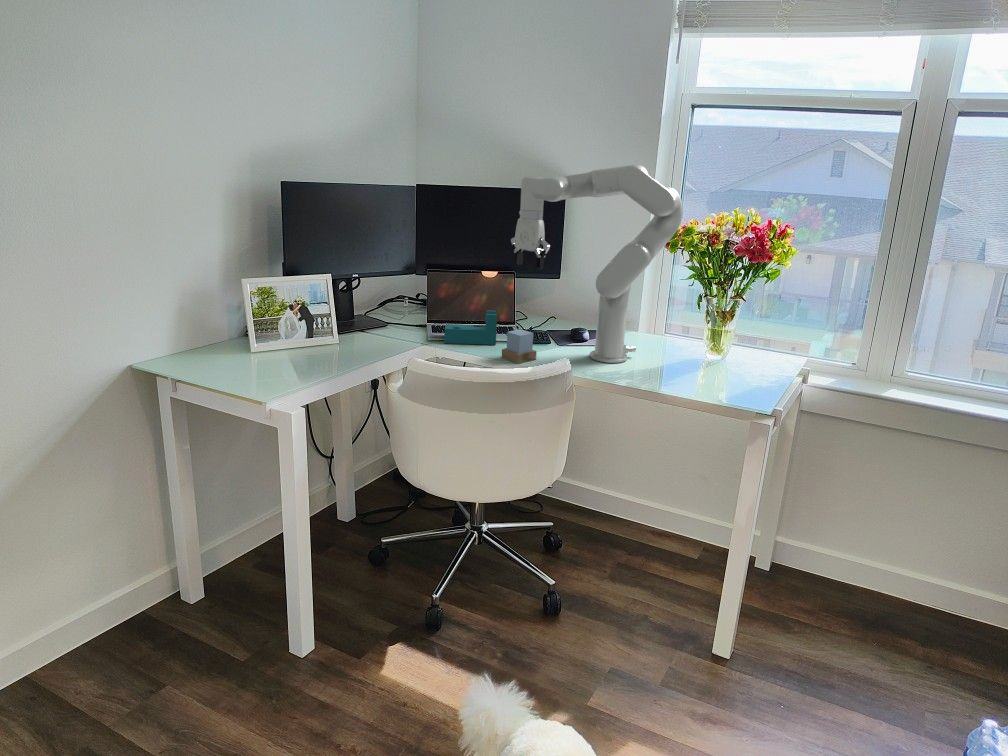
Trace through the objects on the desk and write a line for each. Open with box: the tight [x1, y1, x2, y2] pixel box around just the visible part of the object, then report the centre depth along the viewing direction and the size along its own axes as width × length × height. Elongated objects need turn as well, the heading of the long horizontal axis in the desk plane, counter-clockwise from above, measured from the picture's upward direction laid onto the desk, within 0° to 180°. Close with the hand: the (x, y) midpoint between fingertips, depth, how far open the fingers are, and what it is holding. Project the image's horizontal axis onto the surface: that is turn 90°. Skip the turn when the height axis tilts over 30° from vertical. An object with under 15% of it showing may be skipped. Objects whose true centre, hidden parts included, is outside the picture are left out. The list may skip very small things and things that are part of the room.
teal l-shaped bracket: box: [443, 310, 498, 346], centre depth 259 cm, size 18×11×10 cm, turn 92°
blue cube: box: [506, 328, 534, 354], centre depth 240 cm, size 6×6×6 cm
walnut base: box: [501, 347, 537, 365], centre depth 241 cm, size 8×8×3 cm
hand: (528, 266), depth 247 cm, fingers open, 9 cm apart
